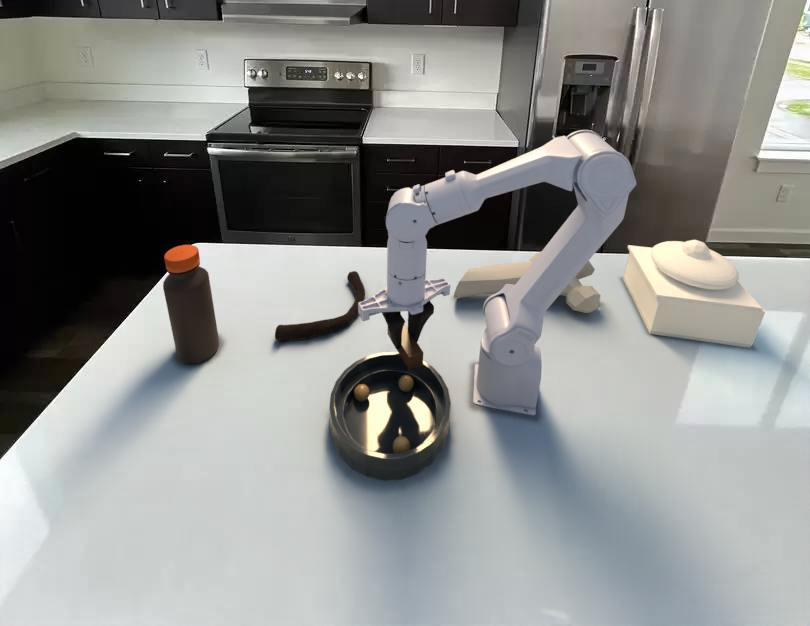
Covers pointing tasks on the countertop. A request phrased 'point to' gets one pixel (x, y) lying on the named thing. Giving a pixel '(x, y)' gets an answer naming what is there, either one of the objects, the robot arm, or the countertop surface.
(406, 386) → the bead
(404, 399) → the bowl
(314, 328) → the branch
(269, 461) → the countertop surface
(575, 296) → the faceted mallet
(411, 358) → the block
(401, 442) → the bead
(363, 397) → the bead
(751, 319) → the butter dish
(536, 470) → the countertop surface
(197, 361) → the bottle
